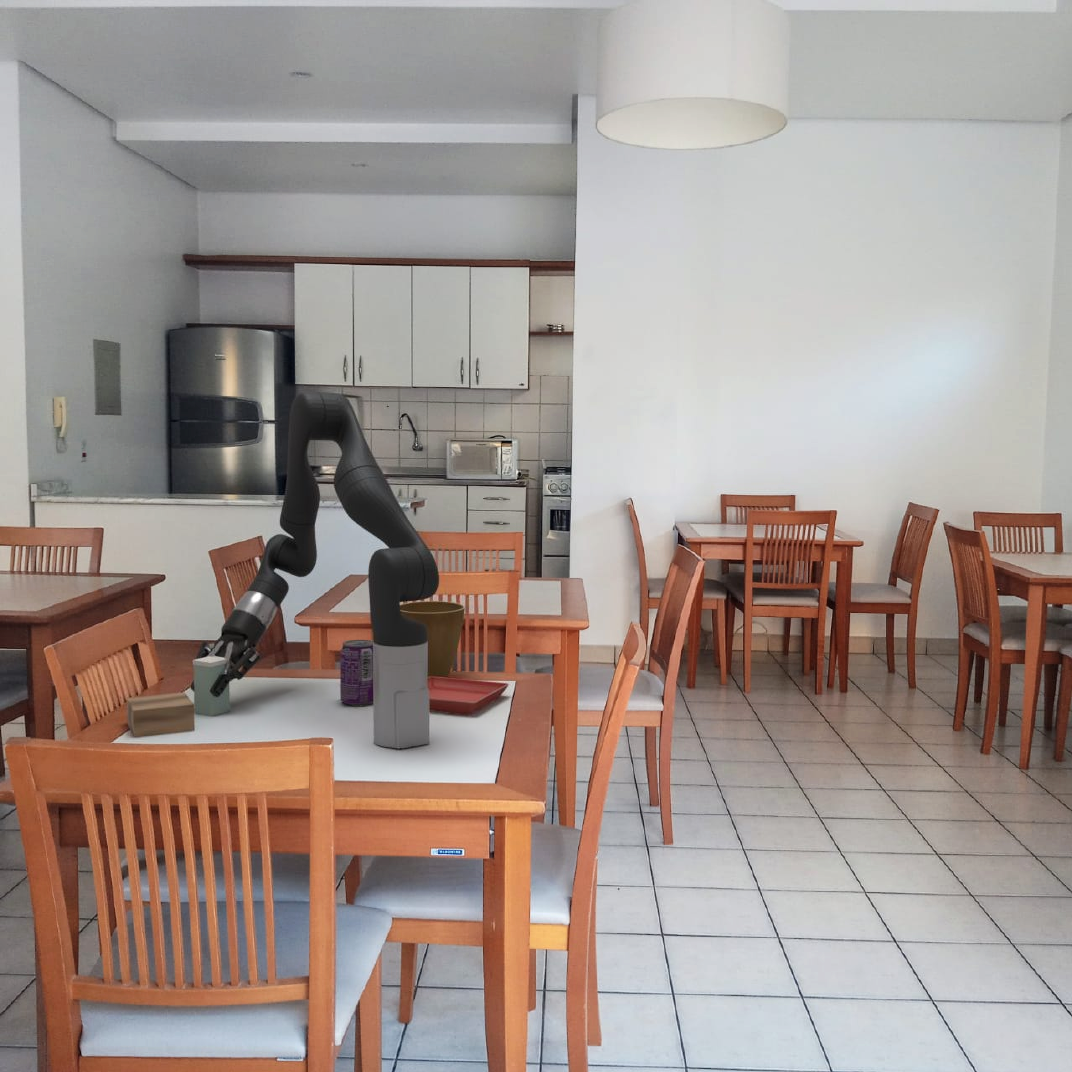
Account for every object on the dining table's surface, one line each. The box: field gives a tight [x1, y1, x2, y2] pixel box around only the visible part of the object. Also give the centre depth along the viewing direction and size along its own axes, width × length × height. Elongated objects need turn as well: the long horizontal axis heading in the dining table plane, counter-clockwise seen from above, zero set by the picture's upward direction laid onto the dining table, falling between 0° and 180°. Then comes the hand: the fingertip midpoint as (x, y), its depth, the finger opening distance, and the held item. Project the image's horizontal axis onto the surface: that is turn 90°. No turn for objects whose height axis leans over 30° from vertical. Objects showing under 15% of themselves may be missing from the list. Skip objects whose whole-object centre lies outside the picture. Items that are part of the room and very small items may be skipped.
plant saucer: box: [428, 677, 510, 716], centre depth 203 cm, size 18×18×3 cm
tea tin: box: [192, 656, 231, 717], centre depth 194 cm, size 5×5×10 cm
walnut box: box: [126, 691, 196, 738], centre depth 184 cm, size 10×10×5 cm
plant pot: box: [400, 600, 466, 678], centre depth 223 cm, size 15×15×16 cm
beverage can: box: [339, 639, 373, 707], centre depth 202 cm, size 7×7×12 cm
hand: (204, 692), depth 193 cm, fingers closed on tea tin, 4 cm apart
